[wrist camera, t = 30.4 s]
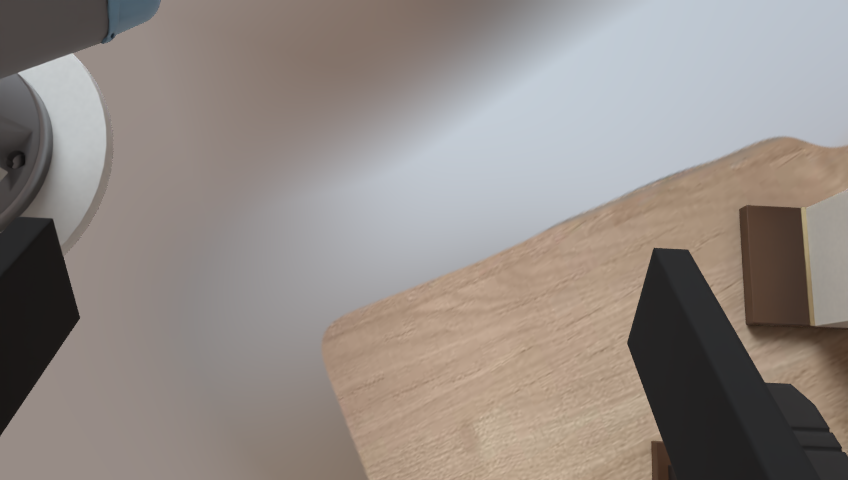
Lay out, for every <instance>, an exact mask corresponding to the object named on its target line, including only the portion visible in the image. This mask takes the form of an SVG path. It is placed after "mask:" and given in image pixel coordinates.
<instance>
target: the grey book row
mask: <svg viewBox="0 0 848 480" xmlns="http://www.w3.org/2000/svg"><path fill="white" fill-rule="evenodd" d="M651 444H652V480H677V478H676V475H675V472H674V470H673V467H672V464H671V461H670V459H669V456H668V453H667V450H666V448H665V445H664V442H663V441H652V442H651Z"/></svg>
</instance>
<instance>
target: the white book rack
mask: <svg viewBox="0 0 848 480" xmlns="http://www.w3.org/2000/svg"><path fill="white" fill-rule="evenodd" d="M739 212H740V229H741V246H742V263H743V280H744V297H745V314H746V324H747V325H767V326H788V327H809V328H830V329H848V328H840V327H818V326H815V318H814V305H813V293H812V281H811V268H810V256H809V243H808V231H807V219H806V208H804V207H801V208H791V207H771V206H751V205H746V206H744V207H743V208H741V209H740V210H739Z"/></svg>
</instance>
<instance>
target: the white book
mask: <svg viewBox="0 0 848 480" xmlns="http://www.w3.org/2000/svg"><path fill="white" fill-rule="evenodd" d="M806 219H807V231H808V243H809V256H810V268H811V281H812V293H813V305H814V318H815V326H818V327H840V328H848V189H847V190H845V191H843V192H840V193H838V194H836V195H834V196H832V197H829V198H827V199H825V200H823V201H821V202H818V203H816V204H814V205H812V206H810V207H807V208H806Z"/></svg>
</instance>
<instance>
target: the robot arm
mask: <svg viewBox="0 0 848 480" xmlns="http://www.w3.org/2000/svg"><path fill="white" fill-rule="evenodd" d="M160 1H161V0H0V232H1V231H2V230H3V231H2V232H1V233H0V435H1V434H2V432H3V431H4V429H5V428H6V427H7V425H8V424H9V422H10V421H11V419H12V418H13V416H14V415H15V413H16V412H17V410H18V409H19V407H20V406H21V404H22V403H23V402H24V400H25V399H26V397H27V396H28V394H29V393H30V391H31V390H32V388H33V387H34V385H35V384H36V382H37V381H38V379H39V378H40V376H41V375H42V373H43V372H44V370H45V369H46V368H47V366H48V364H49V363H50V361H51V360H52V358H53V357H54V356H55V354H56V353H57V351H58V350H59V348H60V347H61V345H62V344H63V342H64V341H65V339H66V338H67V336H68V335H69V333H70V332H71V331H72V329H73V328H74V326H75V325H76V323H77V322H78V320H79V319H80V316H79V312H78V309H77V305H76V302H75V298H74V294H73V290H72V287H71V283H70V280H69V276H68V272H67V269H66V265H65V261H64V257H63V254H62V250H61V246H60V243H59V239H58V235H57V232H56V228H55V224H54V221H53V218H36V217H20V215H21V214H22V213H23V212H24V211H25V210H26V209H27V208H28V207H29V205H30V204H31V203H32V202H33V200H34V199H35V197H36V196H37V194H38V193H39V191H40V189H41V187H42V185H43V183H44V181H45V178H46V176H47V174H48V170H49V167H50V163H51V158H52V152H53V132H52V125H51V121H50V117H49V114H48V111H47V109H46V107H45V104H44V102H43V101H42V99H41V97H40V96H39V94H38V93H37V92H36V90H35V89H34V88H33V87H32V86H31V85H30V84H29V83H28V82H27V81H26V80H25V79H24V78H23V77H22V76H21V75H19V74H18V73H19V72H21V71H24V70H27V69H30V68H32V67H35V66H38V65H41V64H44V63H46V62H49V61H52V60H55V59H57V58H60V57H63V56H66V55H69V54H71V53H74V52H77V51H80V50H82V49H85V48H88V47H91V46H93V45H96V44H99V43H102V44H104V43H107V42H110V41H111V40H112V39H113V38H114V37H115V36H116V35H117V34H119V33H121V32H123V31H126V30H128V29H130V28H133V27H135V26H137V25H139V24H142V23H144V22H146V21H148V20H149V19H151V18H152V17H153V16H154V15H155V13H156V12H157V10H158V8H159V5H160ZM627 344H628V347H629V349H630V352H631V355H632V358H633V360H634V363H635V366H636V368H637V371H638V374H639V377H640V379H641V382H642V385H643V388H644V390H645V393H646V396H647V399H648V401H649V404H650V407H651V409H652V412H653V415H654V418H655V420H656V423H657V426H658V429H659V431H660V434H661V437H662V440H663V442H664V445H665V448H666V450H667V453H668V456H669V459H670V461H671V464H672V467H673V470H674V472H675V475H676V478H677V480H848V456H847V455H846V453H845V452H842V450H841V448H842V447H841V445H840V444H839V442H838V441H837V439H836V438H835V436H834V434H833V433H830V432H829V429H830V428H829V427H828V425H827V423H826V422H825V420H824V419H823V417H822V416H821V414H820V412H819V411H818V409H817V408H816V406H815V405H814V404H813V403H812V402H811V401H810V400H808V399H807V398H806V397H805V396H804V395H803V394H802V393H800V392H799V391H798V390H797V389H796V388H795V387H794V386H792V385H791V384H781V383H765V382H764V380H763V379H762V377H761V375H760V373H759V372H758V370H757V368H756V366H755V365H754V363H753V361H752V360H751V358H750V356H749V354H748V353H747V351H746V349H745V347H744V346H743V344H742V342H741V341H740V339H739V337H738V335H737V334H736V332H735V330H734V328H733V327H732V325H731V323H730V321H729V320H728V318H727V316H726V315H725V313H724V311H723V309H722V308H721V306H720V304H719V302H718V301H717V299H716V297H715V296H714V294H713V292H712V290H711V289H710V287H709V285H708V283H707V282H706V280H705V278H704V276H703V275H702V273H701V271H700V270H699V268H698V266H697V264H696V263H695V261H694V259H693V257H692V256H691V254H690V252H689V251H688V250H683V249H663V248H654V249H653V252H652V256H651V260H650V263H649V267H648V270H647V274H646V278H645V281H644V285H643V288H642V292H641V296H640V299H639V303H638V306H637V310H636V314H635V317H634V321H633V324H632V328H631V331H630V335H629V339H628V342H627Z"/></svg>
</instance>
